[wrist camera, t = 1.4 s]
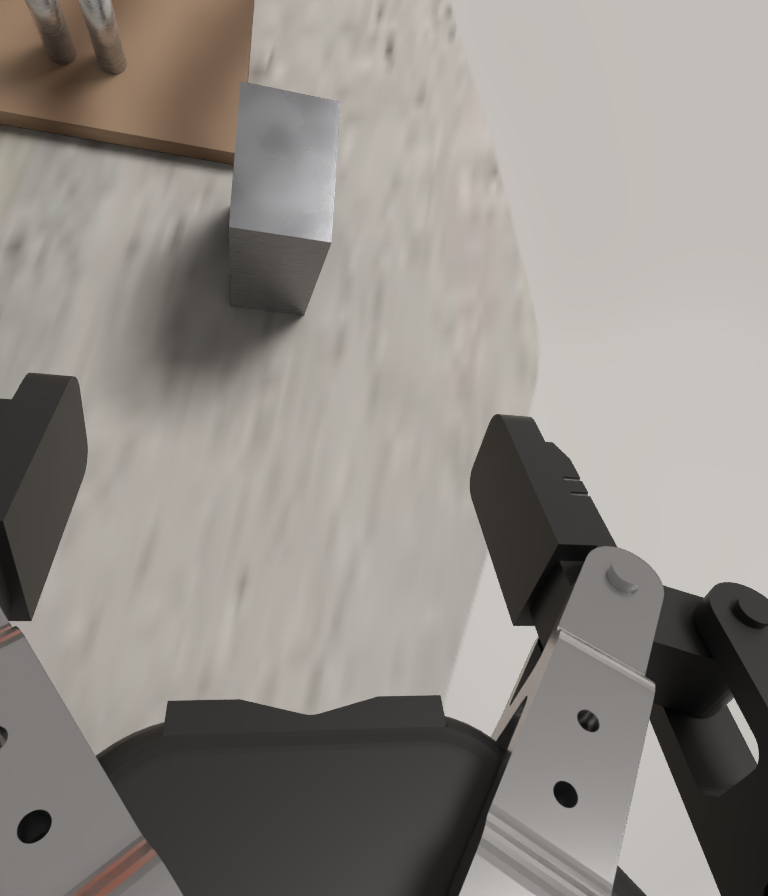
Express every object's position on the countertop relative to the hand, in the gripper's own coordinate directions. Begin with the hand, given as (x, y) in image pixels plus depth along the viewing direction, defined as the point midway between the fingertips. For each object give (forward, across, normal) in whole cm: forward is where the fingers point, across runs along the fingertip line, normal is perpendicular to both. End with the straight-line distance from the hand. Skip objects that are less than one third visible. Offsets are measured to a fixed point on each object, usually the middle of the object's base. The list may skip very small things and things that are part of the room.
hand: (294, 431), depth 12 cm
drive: (+24, 0, +7) cm, 25 cm away
